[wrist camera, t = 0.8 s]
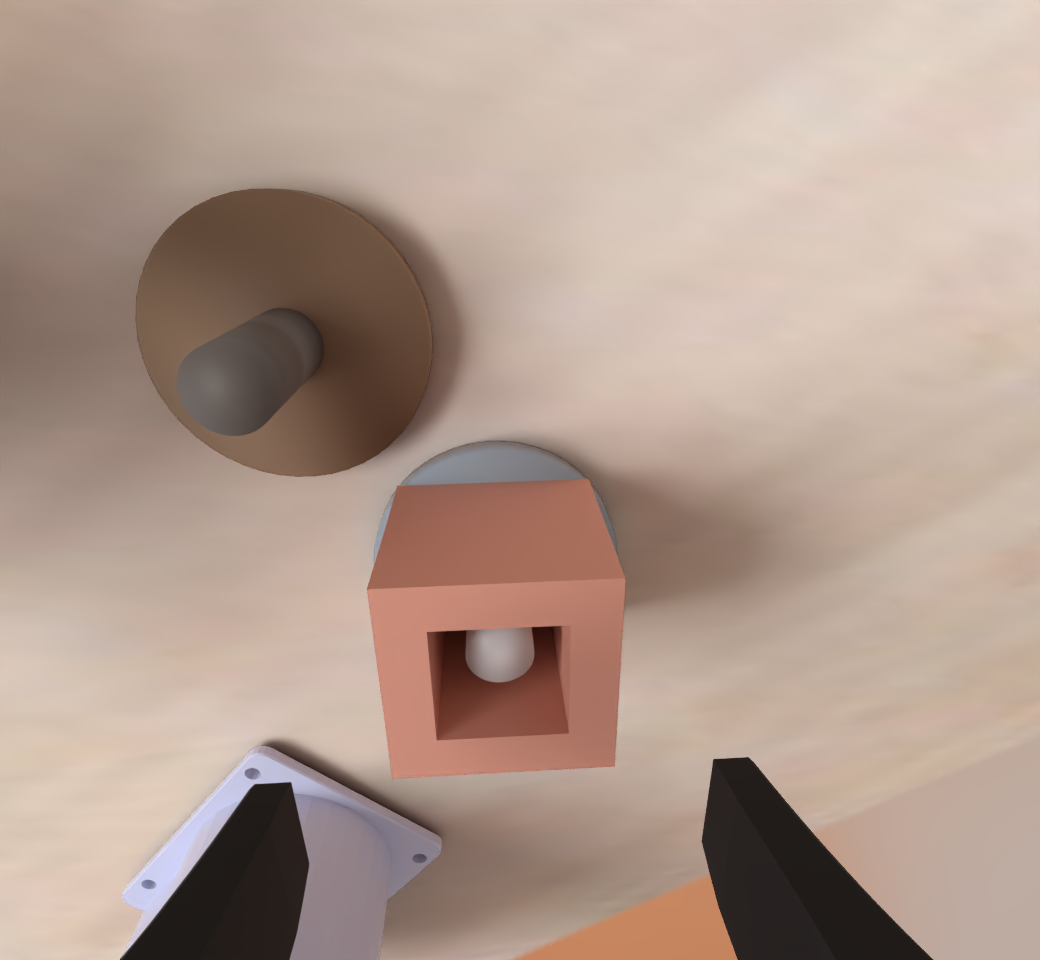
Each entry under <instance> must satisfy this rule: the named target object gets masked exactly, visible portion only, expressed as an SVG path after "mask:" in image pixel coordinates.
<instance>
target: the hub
mask: <svg viewBox="0 0 1040 960" xmlns="http://www.w3.org/2000/svg"><path fill="white" fill-rule="evenodd" d="M136 327H137V337H138V342H139V346H140V350H141V354H142V358H143V360H144V363H145V366H146V368H147V371H148V373H149V376H150V378H151V380H152V382H153V383H154V385H155V387H156V389H157V391H158V393H159V394H160V396H161V397H162V399H163V400H164V402H165V403H166V405H167V406H168V408H169V409H170V410H171V411H172V412H173V414H174V415H175V416H176V417H177V418H178V419H179V421H180V422H181V423H182V424H183V425H184V426H185V427H186V428H187V429H188V430H190V431H191V432H192V433H193V434H194V435H195V436H196V437H197V438H199V439H200V440H201V441H203V442H204V443H205V444H207V445H208V446H209V447H211V448H212V449H214V450H215V451H217V452H219V453H221V454H222V455H224V456H226V457H227V458H229V459H232V460H234V461H236V462H238V463H240V464H243V465H245V466H248V467H251V468H254V469H257V470H260V471H263V472H268V473H273V474H278V475H286V476H296V477H302V476H320V475H327V474H333V473H336V472H340V471H344V470H347V469H350V468H352V467H355V466H357V465H359V464H362V463H364V462H366V461H367V460H369V459H371V458H373V457H374V456H376V455H378V454H379V453H380V452H381V451H383V450H384V449H385V448H387V447H388V446H389V445H390V444H391V443H392V442H393V441H394V440H395V439H396V438H397V437H398V436H399V435H400V434H401V433H402V432H403V430H404V429H405V428H406V426H407V425H408V424H409V422H410V421H411V419H412V418H413V416H414V414H415V412H416V410H417V408H418V406H419V404H420V402H421V399H422V396H423V394H424V391H425V388H426V385H427V381H428V378H429V373H430V368H431V363H432V350H433V340H432V326H431V321H430V316H429V311H428V307H427V304H426V301H425V298H424V295H423V292H422V290H421V288H420V286H419V283H418V281H417V279H416V277H415V275H414V273H413V272H412V270H411V268H410V267H409V265H408V264H407V262H406V260H405V259H404V257H403V256H402V255H401V254H400V252H399V251H398V250H397V249H396V248H395V246H394V245H393V244H392V243H391V242H390V241H389V240H388V239H387V238H386V237H385V236H384V235H383V234H382V233H381V232H380V231H379V230H378V229H377V228H376V227H375V226H373V225H372V224H371V223H369V222H368V221H367V220H365V219H364V218H363V217H361V216H360V215H358V214H356V213H355V212H353V211H351V210H350V209H348V208H346V207H344V206H343V205H340V204H338V203H336V202H333V201H331V200H329V199H326V198H324V197H321V196H317V195H313V194H310V193H306V192H301V191H294V190H287V189H248V190H241V191H234V192H230V193H227V194H223V195H220V196H217V197H213V198H211V199H209V200H207V201H205V202H203V203H201V204H199V205H197V206H195V207H193V208H192V209H191V210H189V211H188V212H186V213H185V214H183V215H182V216H181V217H179V218H178V219H177V220H176V221H175V222H174V223H173V224H172V225H171V226H170V227H169V228H168V229H167V230H166V231H165V232H164V233H163V235H162V236H161V238H160V239H159V240H158V242H157V243H156V244H155V246H154V247H153V249H152V251H151V253H150V255H149V257H148V259H147V261H146V263H145V266H144V269H143V272H142V275H141V278H140V281H139V286H138V292H137V298H136Z"/></svg>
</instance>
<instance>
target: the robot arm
mask: <svg viewBox="0 0 1040 960" xmlns="http://www.w3.org/2000/svg"><path fill="white" fill-rule="evenodd" d="M252 768H255V769H257V770H255V769H252ZM702 844H703V848H704V852H705V856H706V860H707V864H708V868H709V872H710V876H711V880H712V884H713V887H714V891H715V895H716V899H717V902H718V906H719V909H720V912H721V915H722V917H723V920H724V923H725V926H726V929H727V931H728V934H729V937H730V940H731V942H732V945H733V948H734V951H735V953H736V956H737V959H738V960H933V959H932V958H931V957H930V956H929V955H928V954H927V953H926V952H925V951H924V950H923V949H922V948H921V947H920V946H919V945H917V943H916V942H914V940H912V938H911V937H910V936H908V934H906V933H905V932H904V930H903V929H901V927H900V926H899V925H898V924H896V922H895V921H894V920H893V919H892V918H891V917H890V916H889V915H888V914H887V913H886V912H885V911H884V910H883V909H882V908H881V907H880V906H879V905H878V904H877V903H876V902H875V901H874V900H873V899H872V898H871V896H870V895H869V894H868V893H867V892H866V891H865V890H864V889H863V888H862V887H861V886H860V885H859V884H858V883H857V882H856V880H854V878H853V877H852V876H851V875H850V874H849V873H848V872H847V871H846V870H845V868H844V867H843V866H842V865H841V864H840V863H839V862H838V861H837V860H836V858H835V857H834V856H833V855H832V854H831V853H830V852H829V851H828V850H827V849H826V847H825V846H824V845H823V844H822V843H821V842H820V841H819V839H818V838H817V837H816V836H815V835H814V834H813V833H812V831H811V830H810V829H809V828H808V827H807V826H806V824H805V823H804V822H803V821H802V820H801V819H800V817H799V816H798V815H797V814H796V813H795V812H794V810H793V809H792V808H791V807H790V806H789V804H788V803H787V802H786V801H785V800H784V798H783V797H782V796H781V795H780V794H779V792H778V791H777V790H776V789H775V788H774V786H773V785H772V784H771V783H770V782H769V780H768V779H767V778H766V777H765V775H764V774H763V773H762V772H761V771H760V769H759V768H758V767H757V766H756V764H755V763H754V762H753V761H752V760H751V759H750V758H749V757H746V758H727V759H714V760H713V767H712V774H711V780H710V787H709V794H708V801H707V808H706V815H705V822H704V829H703V836H702ZM441 849H442V840H441V838H440V837H439V836H438V835H436V834H434V833H432V832H430V831H428V830H427V829H425V828H423V827H421V826H419V825H417V824H415V823H413V822H411V821H410V820H408V819H406V818H404V817H402V816H400V815H398V814H396V813H394V812H392V811H391V810H389V809H387V808H385V807H383V806H381V805H379V804H377V803H375V802H374V801H372V800H370V799H368V798H366V797H364V796H362V795H360V794H358V793H356V792H355V791H353V790H351V789H349V788H347V787H345V786H343V785H341V784H339V783H337V782H336V781H334V780H332V779H330V778H328V777H326V776H324V775H322V774H320V773H319V772H317V771H315V770H313V769H311V768H309V767H307V766H305V765H303V764H301V763H300V762H298V761H296V760H294V759H292V758H290V757H288V756H286V755H284V754H283V753H281V752H279V751H277V750H275V749H273V748H271V747H268V746H258V747H255V748H253V749H252V750H251V751H250V752H249V753H248V754H247V755H246V756H245V757H244V758H243V759H242V760H241V762H240V763H239V764H238V765H237V766H236V767H235V768H234V769H233V770H232V771H231V772H230V774H229V775H228V776H227V777H226V778H225V779H224V780H223V781H222V782H221V783H220V784H219V785H218V787H217V788H216V789H215V790H214V791H213V792H212V793H211V794H210V795H209V796H208V797H207V799H206V800H205V801H204V802H203V803H202V804H201V805H200V806H199V807H198V808H197V809H196V810H195V812H194V813H193V814H192V815H191V816H190V817H189V818H188V819H187V820H186V821H185V822H184V824H183V825H182V826H181V827H180V828H179V829H178V830H177V831H176V832H175V833H174V834H173V835H172V837H171V838H170V839H169V840H168V841H167V842H166V843H165V844H164V845H163V846H162V847H161V849H160V850H159V851H158V852H157V853H156V854H155V855H154V856H153V857H152V858H151V859H150V860H149V862H148V863H147V864H146V865H145V866H144V867H143V868H142V869H141V870H140V871H139V872H138V874H137V875H136V876H135V877H134V878H133V879H132V880H131V881H130V882H129V883H128V884H127V886H126V888H125V890H124V892H123V894H122V899H123V900H124V902H125V903H126V904H128V905H130V906H132V907H135V908H137V909H140V910H142V911H144V912H143V914H142V916H141V918H140V920H139V922H138V924H137V927H136V929H135V931H134V933H133V935H132V937H131V939H130V941H129V943H128V946H127V948H126V950H125V952H124V954H123V956H122V958H121V959H120V960H379V959H380V952H381V944H382V937H383V930H384V922H385V915H386V908H387V900H388V899H390V898H391V897H392V896H393V895H394V894H395V893H396V892H398V891H399V890H400V889H401V888H402V887H403V886H404V885H406V884H407V883H408V882H409V881H410V880H411V879H412V878H414V877H415V876H416V875H417V874H418V873H419V872H420V871H422V870H423V869H424V868H425V867H426V866H427V865H428V864H430V863H431V862H432V861H433V860H434V859H435V858H436V857H438V856H439V855H440V853H441Z"/></svg>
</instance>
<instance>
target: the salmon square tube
mask: <svg viewBox="0 0 1040 960" xmlns="http://www.w3.org/2000/svg"><path fill="white" fill-rule="evenodd" d="M625 581H626V578H625V575H624V572H623V570H622V567H621V564H620V562H619V559H618V556H617V554H616V551H615V548H614V546H613V543H612V540H611V538H610V535H609V532H608V529H607V527H606V524H605V521H604V519H603V516H602V513H601V511H600V508H599V505H598V503H597V500H596V497H595V495H594V492H593V489H592V487H591V484H590V481H589V479H574V480H547V481H519V482H492V483H465V484H437V485H410V486H397V490H396V493H395V496H394V500H393V503H392V507H391V510H390V513H389V517H388V520H387V524H386V527H385V530H384V534H383V537H382V540H381V544H380V547H379V551H378V554H377V557H376V561H375V564H374V568H373V571H372V574H371V578H370V581H369V584H368V588H367V593H368V600H369V608H370V615H371V622H372V630H373V637H374V645H375V652H376V660H377V667H378V675H379V682H380V690H381V697H382V705H383V712H384V720H385V727H386V735H387V742H388V750H389V757H390V764H391V772H392V779H393V778H411V777H430V776H448V775H466V774H484V773H502V772H521V771H539V770H557V769H575V768H593V767H611V766H615V751H616V734H617V717H618V700H619V683H620V666H621V649H622V632H623V615H624V598H625ZM524 627H532V635H533V644H534V660H533V663H532V665H531V667H530V668H529V669H528V671H527V672H526V673H524V674H523V675H522V676H520V677H519V678H516V679H514V680H511V681H507V682H491V681H487V680H484V679H481V678H480V677H478V676H477V675H475V674H474V673H473V672H472V671H471V670H470V668H469V667H468V665H467V662H466V657H465V652H466V630H480V629H502V628H524Z"/></svg>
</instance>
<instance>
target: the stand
mask: <svg viewBox="0 0 1040 960" xmlns="http://www.w3.org/2000/svg"><path fill="white" fill-rule="evenodd" d="M574 479H587V478H586V477H585V476H584V475H582V474H581V473H580V472H579V471H578V470H577V469H576V468H575V467H573V466H572V465H571V464H569V463H568V462H566V461H565V460H563V459H562V458H560V457H558V456H556V455H554V454H552V453H550V452H548V451H545V450H542V449H540V448H537V447H534V446H530V445H526V444H521V443H515V442H505V441H488V442H479V443H472V444H467V445H464V446H460V447H456V448H453V449H451V450H448V451H446V452H443V453H441V454H439V455H437V456H435V457H433V458H432V459H430V460H428V461H426V462H425V463H423V464H422V465H421V466H419V467H418V468H417V469H416V470H414V471H413V472H412V473H411V474H410V475H409V476H408V477H407V478H406V479H405V480H404V481H403V482H402V483H401V484H400V486H410V485H437V484H465V483H492V482H519V481H547V480H574ZM590 484H591V483H590ZM591 487H592V489H593V492H594V495H595V497H596V500H597V503H598V505H599V508H600V511H601V513H602V516H603V519H604V521H605V524H606V527H607V529H608V532H609V535H610V538H611V540H612V543H613V546H614V548H615V551H616V554H617V546H616V538H615V534H614V530H613V526H612V524H611V521H610V519H609V516H608V514H607V511H606V509H605V506H604V504H603V501H602V500H601V498H600V496H599V495H598V493H597V491H596V489H595V488H594V487H593V486H592V484H591ZM395 493H396V491H395V492H394V494H393V495H392V497H391V499H390V501H389V503H388V505H387V506H386V509H385V512H384V514H383V517H382V520H381V523H380V526H379V529H378V533H377V537H376V542H375V547H374V564H375V561H376V557H377V554H378V551H379V547H380V544H381V540H382V537H383V534H384V530H385V527H386V524H387V520H388V517H389V513H390V510H391V507H392V503H393V500H394V496H395ZM465 657H466V662H467V665H468V667H469V668H470V670H471V671H472V672H473V673H474V674H475V675H477V676H478V677H480V678H481V679H484V680H487V681H491V682H507V681H511V680H514V679H516V678H519V677H520V676H522V675H523V674H524V673H526V672H527V671H528V669H529V668H530V667H531V665H532V663H533V660H534V644H533V635H532V627H524V628H502V629H480V630H466V652H465Z"/></svg>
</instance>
